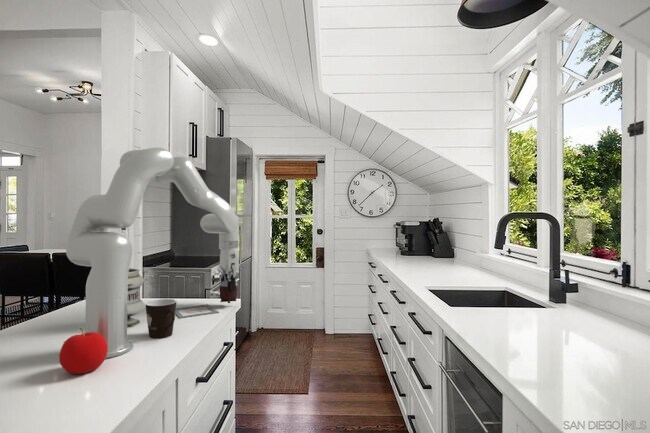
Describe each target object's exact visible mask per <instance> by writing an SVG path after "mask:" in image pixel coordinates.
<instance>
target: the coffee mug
mask: <svg viewBox="0 0 650 433" xmlns="http://www.w3.org/2000/svg"><path fill="white" fill-rule="evenodd" d="M144 303H145V304H144V307H145V313H146V324H147V330H148V338H149V339H152V340H161V339H167V338H169V337H171V336H173V331H174V323H175V319H176V314H175V310H176V308H177V303H178V302H177V300H176V299H172V298H162V299H161V298H160V299H154V300H149V301H147V302H144Z"/></svg>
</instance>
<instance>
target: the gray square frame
mask: <svg viewBox="0 0 650 433" xmlns="http://www.w3.org/2000/svg"><path fill="white" fill-rule="evenodd" d="M202 307H206V308H207V309H208V310H210V311H208V312H202V311H201V309H202ZM193 308H194V309H195V308H198V309H196V311H199V312H200V313H195V314H193V313H194V311H191V312H190V311H189V310H186V313H188V314H186V315H183V314H182V313H181V312H180V311H179V310H185V309H193ZM219 313H220V311H218V310H217V309H215V308H214V307H213V306H211V305H210V304H208V303H206V304H200V305H198V304H197V305H191V306H184V307H176V310H175V316H176V317H177V318H179V319H183V318H186V319H187V318H192V317H193V318H194V317H199V316H205V315H212V314H219Z"/></svg>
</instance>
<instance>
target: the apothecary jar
mask: <svg viewBox="0 0 650 433" xmlns="http://www.w3.org/2000/svg"><path fill="white" fill-rule="evenodd" d="M144 283H145V279H144V277H143V276H142V275H140V271H139V269H138V268H130V267H129V272H128V301H127V328H129V327H130V328H131V327H135V326H137V325H139V324H140V323H141V321H140V320H139V319H138V318H135V317H132V316H135V315H138V314H139V313H140V312H142V310H144V307H145V304H144V303H145V302H144V301H143V300H142V299H141V287H142V286H143V285H144Z"/></svg>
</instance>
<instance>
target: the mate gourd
mask: <svg viewBox="0 0 650 433" xmlns="http://www.w3.org/2000/svg"><path fill="white" fill-rule="evenodd" d="M220 267H221V266H220V265H219V268H220ZM221 269H222V270H223V274H224V280H225V281H222V283H221V282H220V285H219V297H220V303H226V302H227V303H228V304H231V302H237V296H238V292H239V290H238V289H239V287H238V283H237V282H236V290H235V291H229V292H228V291H227V286H228V281H229V280H227V281H226V277H225V270H224V269H223V268H222V267H221Z"/></svg>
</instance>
